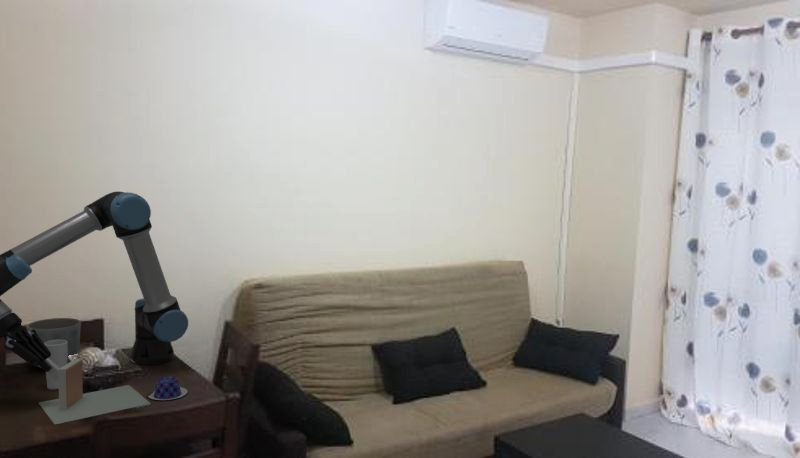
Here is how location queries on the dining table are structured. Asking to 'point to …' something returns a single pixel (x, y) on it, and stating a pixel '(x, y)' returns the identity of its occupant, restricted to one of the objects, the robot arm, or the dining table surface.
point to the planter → (59, 332)
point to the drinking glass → (56, 359)
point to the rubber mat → (95, 404)
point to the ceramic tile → (70, 383)
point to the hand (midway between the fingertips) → (59, 376)
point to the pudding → (167, 389)
